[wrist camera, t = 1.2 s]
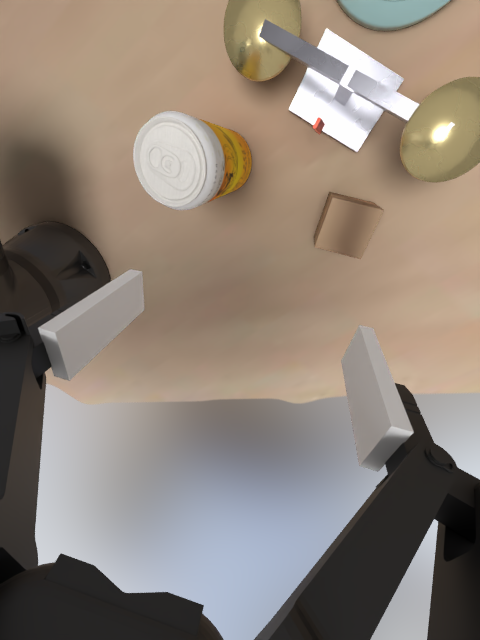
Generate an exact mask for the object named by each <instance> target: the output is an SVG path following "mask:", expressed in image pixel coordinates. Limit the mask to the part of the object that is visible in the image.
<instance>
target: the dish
mask: <svg viewBox="0 0 480 640" xmlns="http://www.w3.org/2000/svg"><path fill="white" fill-rule="evenodd" d="M450 1H451V0H337V2H338V3H339V5H340V7H341V8H342V10H343V11H344V12H345V13H346V14H347V15H348V16H349V17H350V18H351V19H352V20H353V21H355V22H356V23H358V24H360V25H361V26H363V27H365V28H369V29H372V30H378V31H393V30H399V29H403V28H407V27H409V26H412V25H414V24H417V23H419V22H421V21H423V20H424V19H426V18H428V17H430V16H431V15H433V14H434V13H436V12H437V11H438V10H440V9H441V8H443V7H444V6H445V5H446V4H447V3H449V2H450Z"/></svg>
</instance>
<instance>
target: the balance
mask: <svg viewBox="0 0 480 640" xmlns="http://www.w3.org/2000/svg"><path fill="white" fill-rule="evenodd" d="M300 31H301V9H300V2H299V0H229V2H228V5H227V8H226V12H225V18H224V41H225V46H226V50H227V53H228V56H229V58H230V60H231V62H232V64H233V65H234V67H235V68H236V69H237V70H238V72H239V73H240V74H241V75H243V76H244V77H245V78H247V79H249V80H252V81H258V82H259V81H266V80H269V79H272V78H274V77H275V76H277V75H278V74H279V73H281V72H282V71H283V70H284V68H285V67H286V66H287V65H288V63H289V62H290V60H291V59H292V58H293V59H294V60H296V61H298V62H300V63H301V64H303V65H305V66H307V67H308V69H307V71H306V73H305V75H304V78H303V80H302V82H301V84H300V86H299V88H298V91H297V93H296V95H295V97H294V99H293V101H292V104H291V106H290V108H289V111H290V112H292V113H293V114H295V115H297V116H298V117H300V118H301V119H303V120H305V121H306V122H308V123H310V124H311V125H313V129H314V130H315V131H316V132H317V133H318V134H320V133H321V131H322V132H324V133H326V134H327V135H329V136H330V137H332V138H334V139H335V140H337V141H338V142H340V143H342V144H343V145H345V146H346V147H348V148H350V149H351V150H353V151H355V152H358V150H359V148H360V147H361V145H362V144H363V142H364V141H365V139H366V138H367V136H368V134H369V133H370V131H371V130H372V128H373V127H374V125H375V123H376V122H377V120H378V119H379V117H380V116H381V114H382V113H383V111H386V112H388V113H390V114H391V115H393V116H395V117H397V118H398V119H400V120H402V121H404V122H405V123H406V125H405V128H404V130H403V133H402V137H401V142H400V157H401V160H402V163H403V166H404V167H405V169H406V171H407V172H408V173H409V174H410V175H412V176H413V177H415V178H417V179H419V180H422V181H427V182H444V181H448V180H451V179H454V178H457V177H459V176H461V175H463V174H465V173H466V172H468V171H469V170H471V169H472V168H474V167H475V166H476V165H477V164H478V163H480V77H466V78H461V79H458V80H455V81H452V82H450V83H448V84H446V85H444V86H442V87H440V88H439V89H437V90H435V91H434V92H432V93H431V94H430V95H429V96H427V97H426V98H425V99H424V100H423V101H422V102H421V103H420V104H417V103H416V102H414V101H412V100H410V99H408V98H407V97H405V96H403V95H401V94H399V93H398V92H396V91H397V89H398V88H399V86H400V85H401V83H402V81H403V80H404V79H403V78H402V77H400V76H399V75H397V74H396V73H394V72H393V71H391V70H389V69H388V68H386V67H385V66H383V65H382V64H380V63H379V62H377V61H376V60H374V59H373V58H371V57H370V56H368V55H366V54H365V53H363V52H362V51H360V50H359V49H357V48H356V47H354V46H353V45H351V44H350V43H348V42H347V41H345V40H344V39H342V38H340V37H339V36H337V35H336V34H334V33H333V32H331V31H330V30H328V29H327V28H326V30H325V32H324V35H323V37H322V39H321V41H320V43H319V45H318V47H315V46H313V45H311V44H309V43H308V42H306V41H304V40H302V39H300V38H299V37H300Z"/></svg>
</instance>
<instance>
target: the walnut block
mask: <svg viewBox="0 0 480 640" xmlns="http://www.w3.org/2000/svg"><path fill="white" fill-rule="evenodd" d="M383 212H384V210H383V209H382V208H380V207H379V206H377V205H376V204H375V203H372V202H368V201H364V200H360V199H356V198H352V197H348V196H344V195H340V194H336V193H332V192H329V195H328V198H327V201H326V204H325V207H324V209H323V212H322V215H321V218H320V221H319V223H318V226H317V229H316V232H315V235H314V243H315V247H317V248H320V249H324V250H328V251H332V252H335V253H339V254H343V255H347V256H350V257H354V258H358V259H361V257H362V255H363V253H364V251H365V249H366V247H367V245H368V243H369V241H370V239H371V237H372V234H373V232H374V230H375V228H376V226H377V224H378V222H379V220H380V218H381V216H382V214H383Z"/></svg>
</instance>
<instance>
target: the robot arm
mask: <svg viewBox="0 0 480 640" xmlns="http://www.w3.org/2000/svg"><path fill="white" fill-rule="evenodd" d="M143 311H144V293H143V275H142V272H141V271H137V270H133V269H130V270H128V271H127V272H125V273H123V274H122V275H120V276H119V277H117V278H116V279H114V280H112V281H111V282H110V276H109V273H108V269H107V267H106V265H105V262H104V260H103V259H102V257H101V255H100V254H99V252H98V251H97V250H96V248H95V247H94V246H93V245H92V244H91V243H90V242H89V240H87V239H86V238H85V237H84V236H83V235H82V234H80V233H79V232H77V231H76V230H74V229H73V228H71V227H69V226H67V225H64V224H61V223H57V222H42V223H38V224H34V225H31V226H28V227H26V228H24V229H23V230H22V231H20V232H19V233H18V235H17V236H15V237H13V238H12V239H10V240H9V241H7V242H6V243H5V244H4V245H2V244H1V241H0V640H223V638H222V636H221V635H220V633H219V632H218V630H217V629H216V627H215V626H214V625H213V624H212V623H211V621H210V620H209V619H208V618H207V617H205V616H204V615H203V614H202V611H203V605H201V604H198V603H196V602H193V601H190V600H187V599H185V598H182V597H179V596H176V595H173V594H171V593H168V592H155V593H124V592H122V591H121V590H120V589H119V588H118V587H117V586H116V585H114V583H112V582H111V581H110V580H109V579H108V578H107V577H106V576H105V575H104V574H103V573H102V572H100V570H98V569H97V568H96V567H95V566H94V565H91V564H88V563H86V562H83V561H80V560H77V559H75V558H72V557H69V556H66V555H64V554H60V555H59V557H58V559H57V561H56V562H55V563H48V564H43V565H39V566H38V553H37V547H36V542H35V522H36V509H37V495H38V482H39V469H40V456H41V442H42V428H43V415H44V402H45V388H46V375H45V371H47V370H48V369H49V368H50V367H51V368H52V371H53V374H54V376H56V377H59V378H62V379H66V380H69V381H70V380H71V379H72V378H73V377H74V376H75V375H76V374H77V373H78V372H79V371H80V370H81V369H82V368H83V367H84V366H85V365H87V364H88V363H89V362H90V361H91V360H92V359H93V358H94V357H95V356H96V355H97V354H98V353H99V352H100V351H101V350H102V349H103V348H105V347H106V346H107V345H108V344H109V343H110V342H111V341H112V340H113V339H114V338H115V337H116V336H117V335H118V334H119V333H120V332H121V331H123V330H124V329H125V328H126V327H127V326H128V325H129V324H130V323H131V322H132V321H133V320H134V319H135V318H136V317H137V316H138V315H140V314H141V313H142V312H143ZM341 363H342V368H343V374H344V380H345V386H346V392H347V397H348V403H349V409H350V414H351V421H352V426H353V432H354V438H355V444H356V450H357V455H358V461H359V466H361V467H365V468H368V469H371V470H375V471H379V470H380V469H381V468H382V467H383V466H384V465H386V468H387V472H388V475H387V476H386V477H385V478H384V479H383V480H382V481H381V482H380V483H379V484H378V485H377V486H376V489H375V490H374V492H373V493H372V494H371V495H370V497H369V498H368V499H367V500H366V502H365V503H364V504H363V505H362V507H361V508H360V509H359V510H358V512H357V513H356V514H355V515H354V517H353V518H352V519H351V520H350V522H349V523H348V524H347V525H346V527H345V528H344V529H343V530H342V532H341V533H340V534H339V535H338V537H337V538H336V539H335V541H334V542H333V543H332V544H331V545H330V547H329V548H328V549H327V551H326V552H325V553H324V554H323V556H322V557H321V558H320V559H319V561H318V562H317V563H316V564H315V566H314V567H313V568H312V569H311V571H310V572H309V573H308V574H307V576H306V577H305V578H304V579H303V581H302V582H301V583H300V584H299V586H298V587H297V588H296V589H295V591H294V592H293V593H292V594H291V596H290V597H289V598H288V599H287V601H286V602H285V603H284V604H283V606H282V607H281V608H280V610H279V611H278V612H277V613H276V614H275V616H274V617H273V618H272V619H271V621H270V622H269V623H268V624H267V625H266V626H265V628H264V629H263V630H262V631H261V632H260V633H259V634H258V636H257V637H256V638H255V639H254V640H370V639H371V637H372V635H373V633H374V631H375V629H376V627H377V626H378V624H379V622H380V620H381V618H382V616H383V614H384V612H385V610H386V609H387V607H388V605H389V603H390V601H391V599H392V597H393V595H394V593H395V592H396V590H397V588H398V586H399V584H400V582H401V580H402V578H403V576H404V575H405V573H406V571H407V569H408V567H409V565H410V563H411V561H412V559H413V557H414V556H415V554H416V552H417V550H418V548H419V546H420V544H421V542H422V541H423V539H424V537H425V535H426V533H427V531H428V529H429V527H430V525H431V524H432V521H433V520H434V519H436V520H437V521H438V531H437V541H436V552H435V564H434V574H433V584H432V594H431V606H430V616H429V626H428V637H427V640H480V480H479V479H477V478H476V477H474V476H472V475H470V474H468V473H466V472H464V471H463V470H461V469H459V468H457V466H456V463H455V461H454V460H453V459H452V457H451V456H450V455H449V454H448V453H447V452H446V451H445V450H444V449H443V448H441V447H440V446H438V445H436V444H435V443H434V441H433V439H432V437H431V435H430V432H429V430H428V428H427V426H426V424H425V421H424V419H423V417H422V415H420V410H419V408H418V407H417V404H416V401H415V399H414V397H413V395H412V394H411V393H410V391H409V390H408V389H407V388H406V387H405V386H404V385H400V384H396V383H394V380H393V378H392V375H391V373H390V370H389V368H388V365H387V362H386V360H385V357H384V355H383V352H382V350H381V347H380V345H379V342H378V339H377V337H376V334H375V332H374V329H373V328H370V327H366V326H362V325H359V327H358V329H357V331H356V333H355V335H354V337H353V339H352V340H351V342H350V344H349V346H348V348H347V350H346V352H345V354H344V356H343V358H342V360H341Z"/></svg>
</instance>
